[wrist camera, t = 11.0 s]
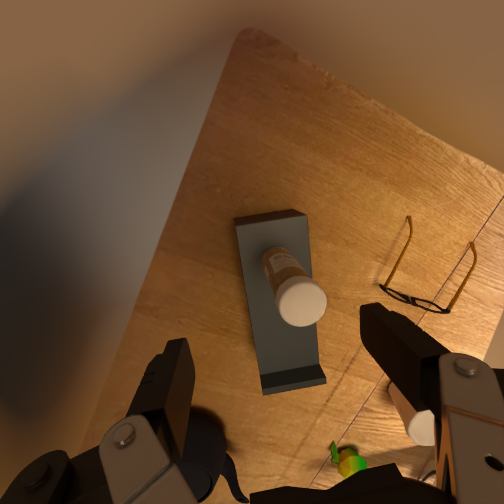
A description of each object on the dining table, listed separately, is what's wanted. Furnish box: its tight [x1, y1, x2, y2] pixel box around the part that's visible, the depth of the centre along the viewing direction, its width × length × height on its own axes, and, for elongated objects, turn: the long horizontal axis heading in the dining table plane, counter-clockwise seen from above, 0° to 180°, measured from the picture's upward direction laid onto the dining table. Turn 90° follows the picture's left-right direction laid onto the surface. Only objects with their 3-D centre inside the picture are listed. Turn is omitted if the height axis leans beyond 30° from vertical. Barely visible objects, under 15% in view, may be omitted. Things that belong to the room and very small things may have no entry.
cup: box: [388, 381, 435, 446], centre depth 50 cm, size 10×10×9 cm
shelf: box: [234, 209, 327, 396], centre depth 40 cm, size 26×10×11 cm, turn 8°
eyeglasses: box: [379, 216, 477, 314], centre depth 44 cm, size 14×14×4 cm
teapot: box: [174, 413, 249, 503], centre depth 47 cm, size 25×16×12 cm, turn 63°
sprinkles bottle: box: [261, 247, 327, 327], centre depth 29 cm, size 5×5×13 cm
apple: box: [331, 441, 367, 479], centre depth 55 cm, size 7×6×9 cm
